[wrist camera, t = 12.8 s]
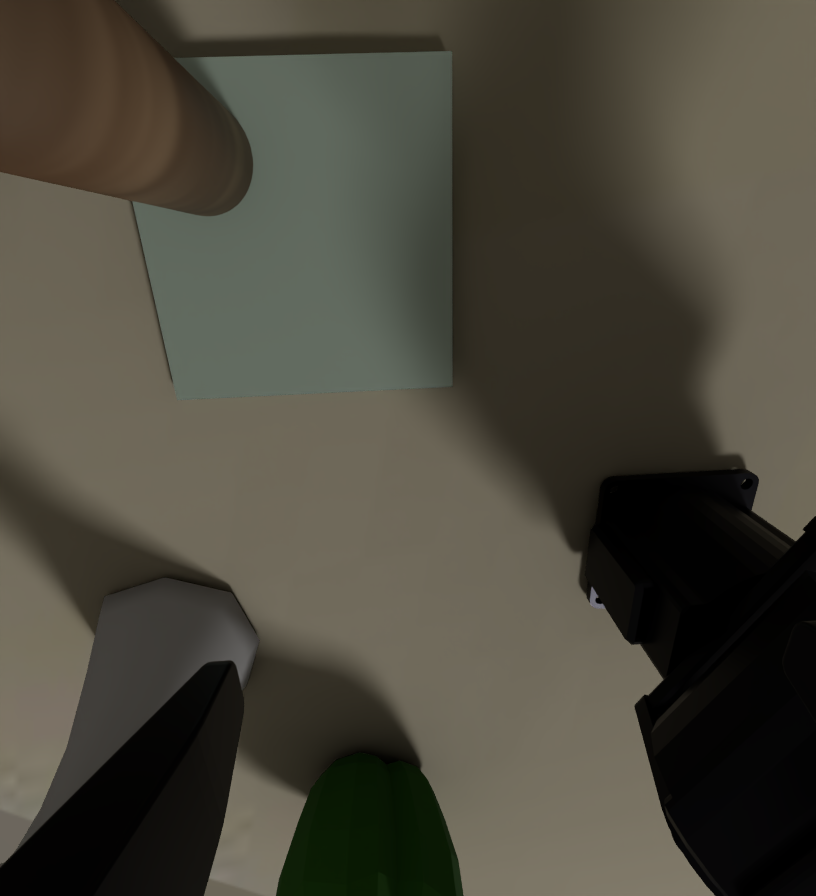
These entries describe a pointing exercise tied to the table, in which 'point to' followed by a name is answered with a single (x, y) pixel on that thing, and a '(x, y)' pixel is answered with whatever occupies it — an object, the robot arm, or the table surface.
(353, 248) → the green pad
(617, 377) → the table surface
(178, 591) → the flask
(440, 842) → the bell pepper
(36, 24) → the walnut peg
